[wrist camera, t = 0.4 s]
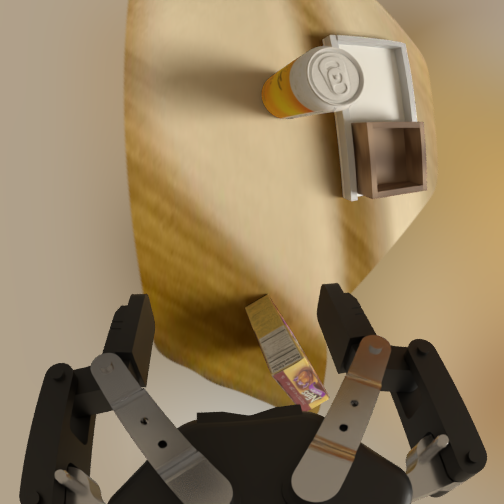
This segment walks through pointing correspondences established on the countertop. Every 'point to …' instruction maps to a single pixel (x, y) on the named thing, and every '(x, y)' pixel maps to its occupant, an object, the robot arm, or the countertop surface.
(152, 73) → the countertop surface
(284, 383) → the candy box
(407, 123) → the crate
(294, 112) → the beer can
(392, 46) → the tray
